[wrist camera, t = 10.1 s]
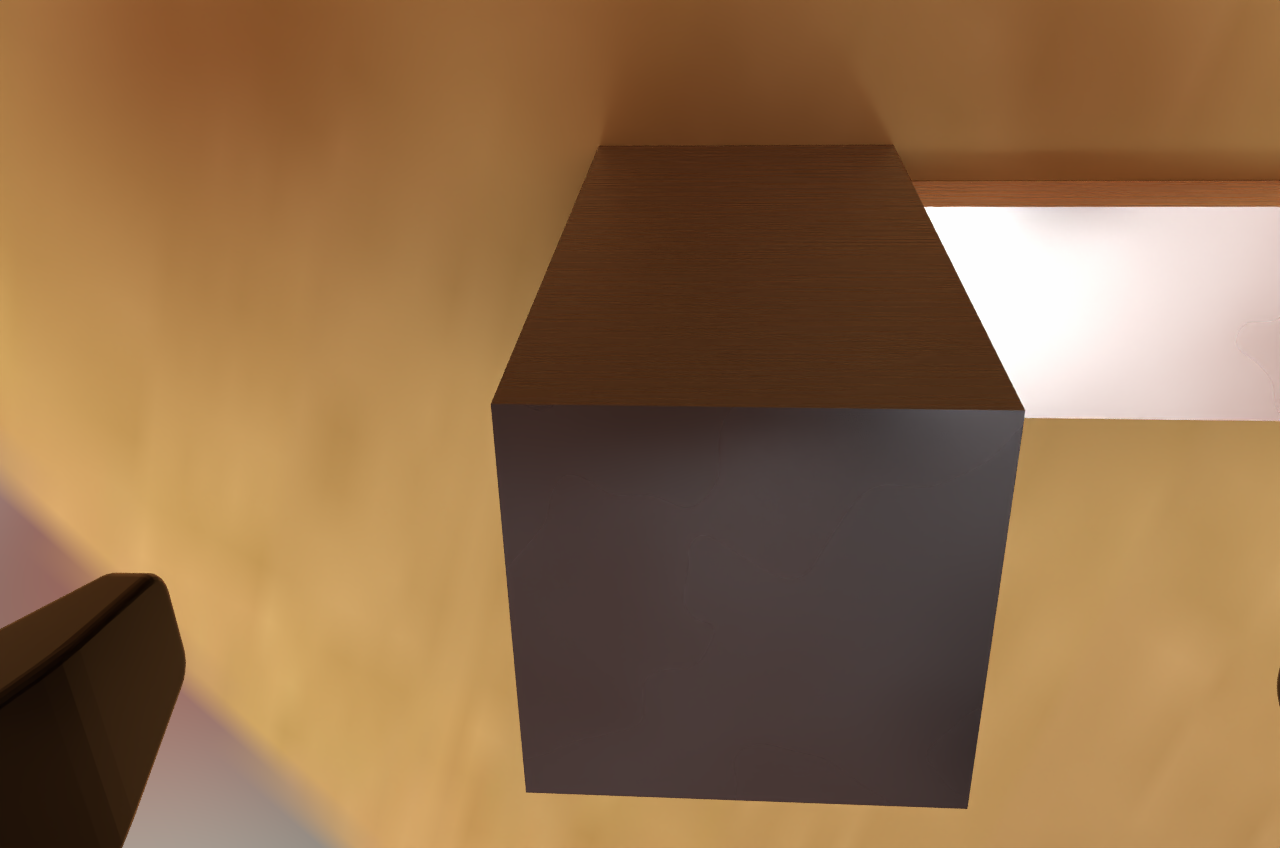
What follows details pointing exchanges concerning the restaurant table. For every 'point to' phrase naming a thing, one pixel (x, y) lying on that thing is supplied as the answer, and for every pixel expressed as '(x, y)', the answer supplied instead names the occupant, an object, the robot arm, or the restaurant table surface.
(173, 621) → the robot arm
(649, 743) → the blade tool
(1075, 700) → the restaurant table surface
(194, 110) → the restaurant table surface
